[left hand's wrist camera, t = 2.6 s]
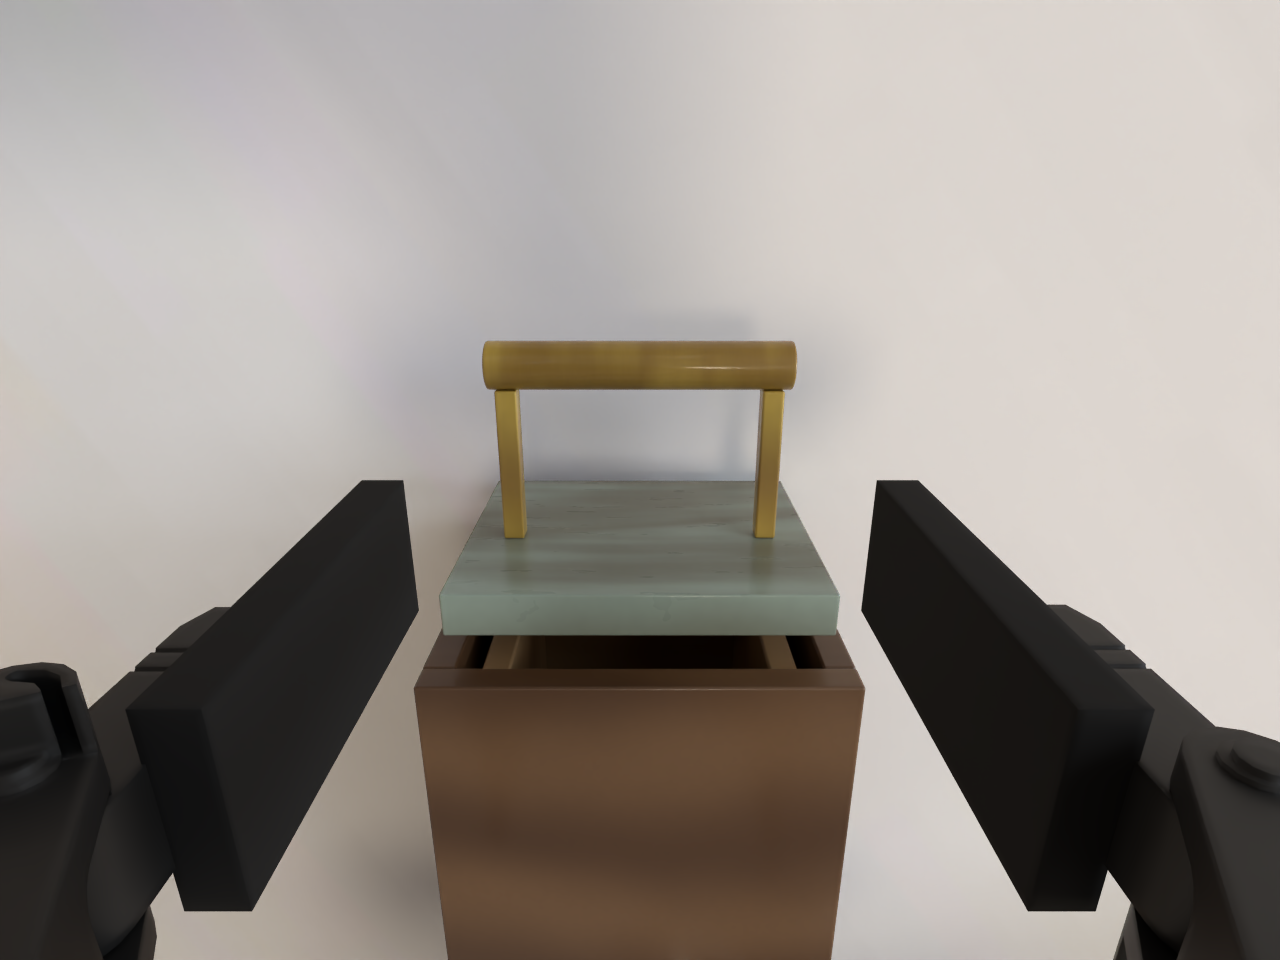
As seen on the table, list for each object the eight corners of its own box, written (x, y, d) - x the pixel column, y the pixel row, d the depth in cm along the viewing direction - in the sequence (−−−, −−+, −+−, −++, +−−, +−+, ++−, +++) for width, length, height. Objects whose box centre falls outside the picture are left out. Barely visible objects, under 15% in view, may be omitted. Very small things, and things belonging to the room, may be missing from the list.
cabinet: (491, 523, 28) (412, 687, 18) (788, 523, 28) (866, 688, 18) (520, 916, 35) (475, 1183, 25) (758, 916, 35) (803, 1184, 25)
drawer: (487, 317, 24) (414, 368, 16) (792, 317, 24) (865, 368, 16) (527, 881, 33) (491, 1092, 25) (752, 881, 33) (787, 1092, 25)
